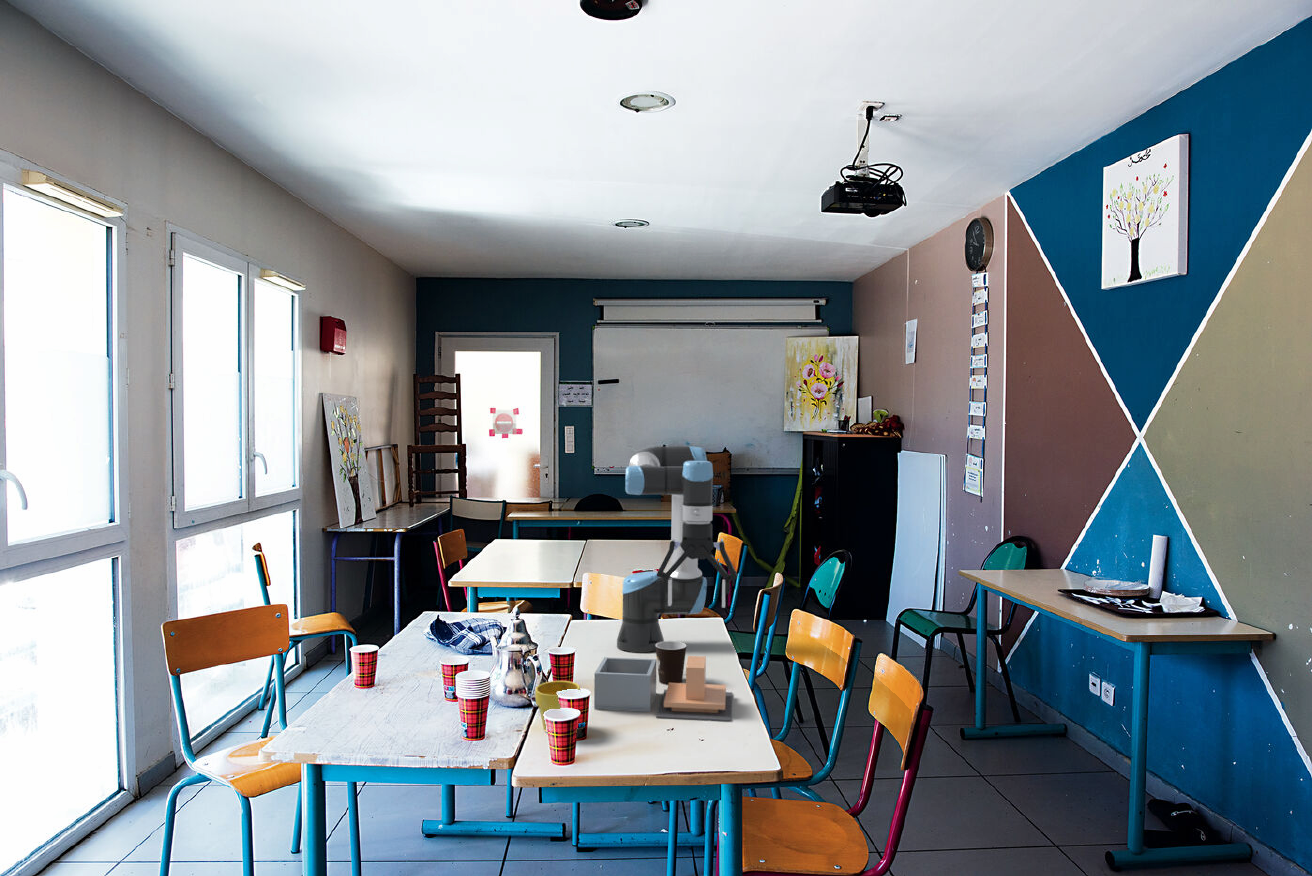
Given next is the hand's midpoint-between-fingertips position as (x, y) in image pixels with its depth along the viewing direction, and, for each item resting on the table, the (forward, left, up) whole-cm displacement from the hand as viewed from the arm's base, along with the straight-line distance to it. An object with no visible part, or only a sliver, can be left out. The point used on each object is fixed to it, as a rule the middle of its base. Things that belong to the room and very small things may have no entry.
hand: (696, 605), depth 203 cm
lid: (0, 0, -25) cm, 25 cm away
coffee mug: (-20, -8, -26) cm, 33 cm away
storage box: (-1, -18, -25) cm, 31 cm away
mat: (0, 0, -25) cm, 25 cm away
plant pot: (+20, -31, -26) cm, 45 cm away
